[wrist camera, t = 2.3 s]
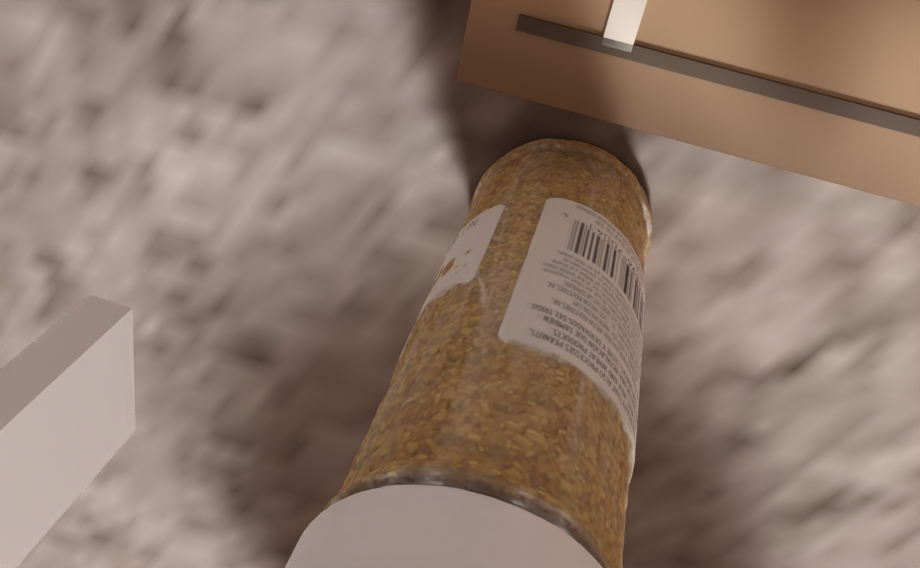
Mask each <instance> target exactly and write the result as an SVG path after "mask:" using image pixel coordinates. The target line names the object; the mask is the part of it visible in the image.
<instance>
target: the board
mask: <svg viewBox="0 0 920 568" xmlns="http://www.w3.org/2000/svg"><path fill="white" fill-rule="evenodd" d="M456 80H457V81H461V82H465V83H468V84H472V85H476V86H479V87H483V88H487V89H490V90H494V91H498V92H501V93H505V94H509V95H512V96H516V97H520V98H523V99H527V100H531V101H535V102H538V103H542V104H546V105H549V106H553V107H557V108H560V109H564V110H568V111H571V112H575V113H579V114H582V115H586V116H590V117H593V118H597V119H601V120H604V121H608V122H612V123H615V124H619V125H623V126H626V127H630V128H634V129H637V130H641V131H645V132H648V133H652V134H656V135H659V136H663V137H667V138H670V139H674V140H678V141H681V142H685V143H689V144H692V145H696V146H700V147H703V148H707V149H711V150H714V151H718V152H722V153H725V154H729V155H733V156H736V157H740V158H744V159H747V160H751V161H755V162H758V163H762V164H766V165H769V166H773V167H777V168H780V169H784V170H788V171H791V172H795V173H799V174H802V175H806V176H810V177H813V178H817V179H821V180H824V181H828V182H832V183H835V184H839V185H843V186H847V187H850V188H854V189H858V190H861V191H865V192H869V193H872V194H876V195H880V196H883V197H887V198H891V199H894V200H898V201H902V202H905V203H909V204H913V205H916V206H920V0H471V4H470V10H469V15H468V20H467V25H466V30H465V35H464V40H463V45H462V50H461V55H460V60H459V65H458V71H457V76H456Z"/></svg>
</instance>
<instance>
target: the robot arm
mask: <svg viewBox="0 0 920 568" xmlns="http://www.w3.org/2000/svg"><path fill="white" fill-rule="evenodd" d="M134 431H135V395H134V355H133V314H132V308H130V307H127V306H123V305H120V304H117V303H114V302H111V301H107V300H104V299H101V298H98V297H95V296H91V295H89V296H88V297H87V298H85V299H84V300H83V301H82V302H81V303H79V304H78V305H77V306H76V307H75V308H74V309H72V310H71V311H70V312H69V313H68V314H66V315H65V316H64V317H63V318H62V319H60V320H59V321H58V322H57V323H56V324H54V325H53V326H52V327H51V328H50V329H48V330H47V331H46V332H45V333H44V334H42V335H41V336H40V337H39V338H38V339H36V340H35V341H34V342H33V343H32V344H30V345H29V346H28V347H27V348H26V349H24V350H23V351H22V352H21V353H20V354H18V355H17V356H16V357H15V358H14V359H13V360H11V361H10V362H9V363H8V364H7V365H5V366H4V367H3V368H2V369H1V370H0V568H16V567H17V566H18V565H19V564H20V563H21V562H22V560H23V559H24V558H25V557H26V556H27V555H28V554H29V552H30V551H31V550H32V549H33V548H34V547H35V545H36V544H37V543H38V542H39V541H40V540H41V539H42V537H43V536H44V535H45V534H46V533H47V532H48V530H49V529H50V528H51V527H52V526H53V525H54V524H55V522H56V521H57V520H58V519H59V518H60V517H61V515H62V514H63V513H64V512H65V511H66V510H67V509H68V507H69V506H70V505H71V504H72V503H73V502H74V501H75V499H76V498H77V497H78V496H79V495H80V494H81V492H82V491H83V490H84V489H85V488H86V487H87V486H88V484H89V483H90V482H91V481H92V480H93V479H94V477H95V476H96V475H97V474H98V473H99V472H100V471H101V469H102V468H103V467H104V466H105V465H106V464H107V463H108V461H109V460H110V459H111V458H112V457H113V456H114V454H115V453H116V452H117V451H118V450H119V449H120V448H121V446H122V445H123V444H124V443H125V442H126V441H127V439H128V438H129V437H130V436H131V435H132V434H133V433H134Z"/></svg>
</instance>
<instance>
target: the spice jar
mask: <svg viewBox="0 0 920 568" xmlns="http://www.w3.org/2000/svg"><path fill="white" fill-rule="evenodd" d="M652 227H653V225H652V212H651V208H650V206H649V204H648V201H647V196H646V194H645V192H644V190H643V188H642V187H641V186H640V184H639V182H638V179H637V178H636V176H635V175H634V174H633V173H632V172H631V171H630V169H629V168H628V167H626V166H625V165H624V164H623V163H622V162H620V161H619V160H618V159H617V158H616V157H615V156H613V155H612V154H610V153H609V152H607V151H605V150H603V149H600V148H598V147H596V146H594V145H591V144H588V143H584V142H580V141H577V140H566V139H552V138H544V139H539V140H536V141H533V142H529V143H526V144H524V145H521V146H519V147H517V148H515V149H513V150H511V151H510V152H508V153H507V154H506V155H505V156H503V157H501V158H500V159H499V160H498V161H497V162H496V163H494V164H493V165H492V166H490V168H489V169H488V170H487V171H486V172H485V174H484V175H483V176H482V178H481V180H480V182H479V184H478V186H477V188H476V190H475V192H474V195H473V198H472V201H471V205H470V211H469V216H468V217H467V219H466V222H465V224H464V227H463V229H462V230H461V232H460V233H459V234H458V236H457V237H456V239H455V240H454V242H453V243H452V246H451V248H450V250H449V252H448V254H447V256H446V258H445V260H444V262H443V264H442V266H441V268H440V271H439V273H438V275H437V277H436V279H435V281H434V283H433V285H432V288H431V290H430V292H429V294H428V296H427V299H426V301H425V303H424V305H423V307H422V309H421V312H420V314H419V316H418V318H417V320H416V322H415V325H414V327H413V329H412V331H411V333H410V335H409V337H408V339H407V341H406V344H405V346H404V348H403V350H402V353H401V355H400V357H399V360H398V363H397V365H396V368H395V370H394V373H393V376H392V379H391V383H390V387H389V390H388V392H387V394H386V395H385V397H384V398H383V400H382V402H381V403H380V405H379V407H378V410H377V413H376V415H375V417H374V419H373V421H372V423H371V425H370V428H369V430H368V432H367V435H366V437H365V438H364V440H363V442H362V444H361V446H360V449H359V451H358V453H357V454H356V456H355V458H354V460H353V463H352V465H351V468H350V470H349V473H348V476H347V478H346V479H345V481H344V483H343V486H342V488H341V489H340V491H339V494H338V495H336V496H335V497H334V498H332V499H330V501H329V502H328V503H327V505H326V506H325V508H324V510H323V512H321V513H320V514H319V515H318V516H317V517H316V518H315V519H314V520H313V521H312V522H311V523H310V524H309V525H308V527H307V528H306V529H305V531H304V532H303V534H302V535H301V537H300V539H299V541H298V543H297V545H296V547H295V549H294V551H293V553H292V555H291V557H290V559H289V561H288V563H287V565H286V567H285V568H623V548H624V538H625V523H626V508H627V504H628V489H629V483H630V481H631V477H632V473H633V468H634V463H635V450H636V435H637V420H638V405H639V391H640V376H641V361H642V346H643V326H644V307H645V284H644V260H645V258H646V256H647V254H648V250H649V247H650V244H651V240H652Z"/></svg>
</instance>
